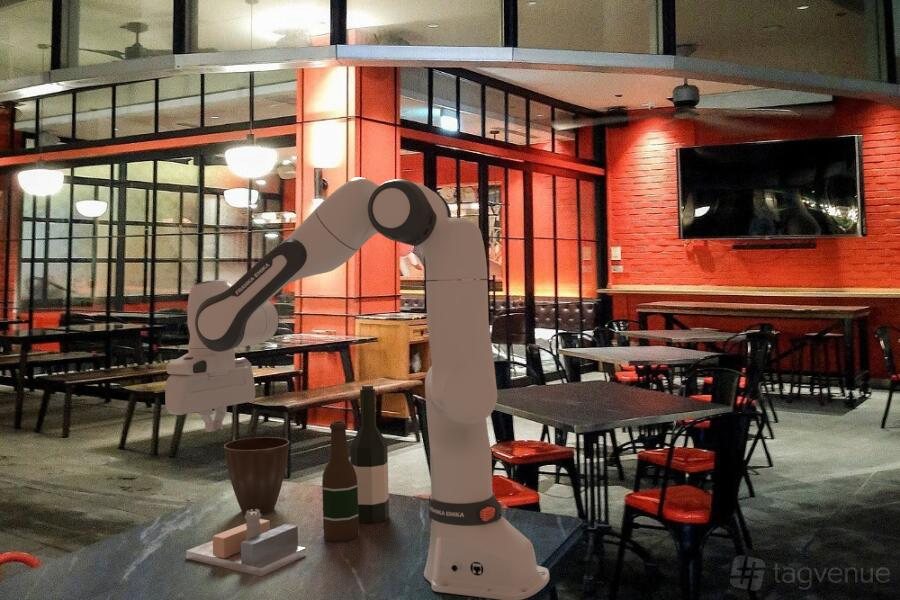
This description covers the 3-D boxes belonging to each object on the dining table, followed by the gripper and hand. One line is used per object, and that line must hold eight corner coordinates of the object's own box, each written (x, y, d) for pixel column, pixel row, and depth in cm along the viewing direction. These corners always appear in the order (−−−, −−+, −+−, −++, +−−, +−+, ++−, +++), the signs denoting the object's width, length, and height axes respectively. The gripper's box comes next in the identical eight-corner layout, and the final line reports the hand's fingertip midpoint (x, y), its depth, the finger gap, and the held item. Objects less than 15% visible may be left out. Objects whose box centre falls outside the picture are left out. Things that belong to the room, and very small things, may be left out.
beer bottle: (352, 543, 152) (349, 425, 152) (316, 541, 154) (313, 425, 154) (364, 531, 160) (361, 419, 160) (330, 529, 162) (327, 418, 161)
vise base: (306, 555, 146) (305, 527, 146) (261, 576, 136) (260, 546, 136) (233, 539, 156) (232, 513, 156) (186, 558, 146) (185, 530, 146)
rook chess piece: (253, 558, 141) (252, 515, 141) (236, 554, 143) (235, 512, 143) (270, 550, 145) (269, 509, 145) (254, 547, 147) (253, 506, 147)
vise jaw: (270, 538, 151) (269, 520, 151) (224, 558, 141) (223, 538, 141) (259, 536, 153) (258, 518, 152) (213, 555, 142) (212, 536, 142)
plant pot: (289, 499, 186) (287, 434, 186) (293, 516, 172) (291, 446, 172) (226, 505, 182) (224, 439, 182) (225, 523, 168) (223, 452, 168)
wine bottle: (396, 515, 170) (393, 384, 170) (373, 525, 163) (370, 388, 163) (367, 510, 175) (364, 382, 175) (344, 520, 168) (341, 386, 168)
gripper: (239, 356, 160) (241, 420, 160) (159, 366, 143) (161, 438, 143) (261, 357, 157) (263, 423, 157) (181, 367, 139) (183, 441, 140)
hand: (213, 430), depth 150 cm, fingers closed
